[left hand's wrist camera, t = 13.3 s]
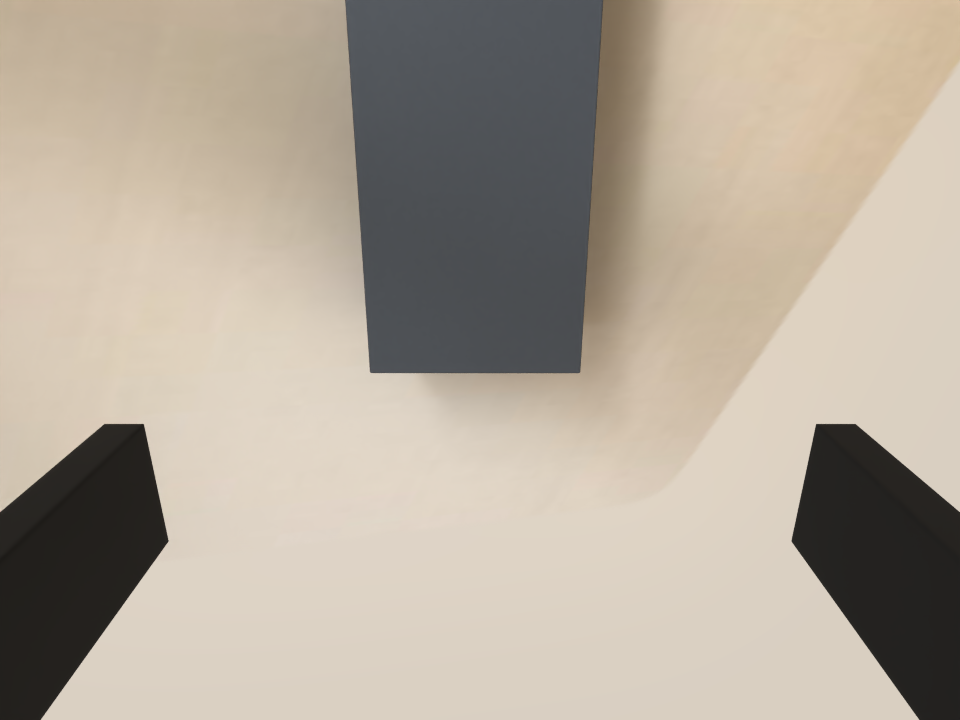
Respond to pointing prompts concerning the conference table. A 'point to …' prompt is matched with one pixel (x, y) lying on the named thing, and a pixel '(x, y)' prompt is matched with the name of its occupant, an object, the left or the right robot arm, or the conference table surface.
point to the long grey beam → (474, 180)
